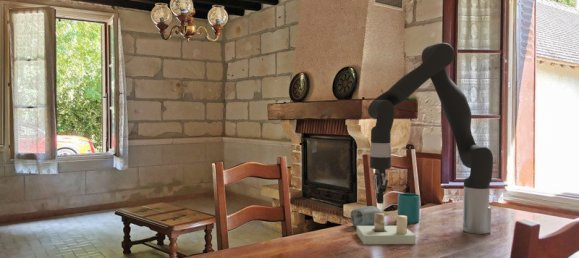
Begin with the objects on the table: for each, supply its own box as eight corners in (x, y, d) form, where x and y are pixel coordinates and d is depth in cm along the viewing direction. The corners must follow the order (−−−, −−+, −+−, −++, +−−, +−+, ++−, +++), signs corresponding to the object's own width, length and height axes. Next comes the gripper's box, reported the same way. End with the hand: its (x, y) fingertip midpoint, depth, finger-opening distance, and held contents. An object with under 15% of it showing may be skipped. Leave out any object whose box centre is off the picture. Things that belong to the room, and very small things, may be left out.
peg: (382, 237, 170) (383, 212, 170) (385, 240, 167) (385, 215, 167) (373, 237, 170) (373, 213, 170) (375, 240, 167) (375, 215, 166)
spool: (358, 223, 178) (358, 198, 182) (345, 229, 185) (345, 205, 190) (388, 229, 182) (387, 205, 187) (374, 235, 190) (373, 211, 195)
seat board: (403, 233, 176) (404, 209, 176) (415, 243, 162) (415, 218, 162) (356, 233, 175) (356, 210, 175) (364, 244, 161) (364, 218, 161)
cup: (428, 220, 198) (428, 194, 197) (410, 224, 190) (411, 197, 190) (410, 216, 205) (410, 191, 204) (393, 220, 197) (393, 194, 197)
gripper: (395, 157, 161) (394, 206, 162) (386, 153, 174) (385, 199, 175) (374, 157, 161) (373, 206, 161) (366, 153, 174) (365, 199, 175)
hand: (379, 203), depth 168 cm, fingers closed
